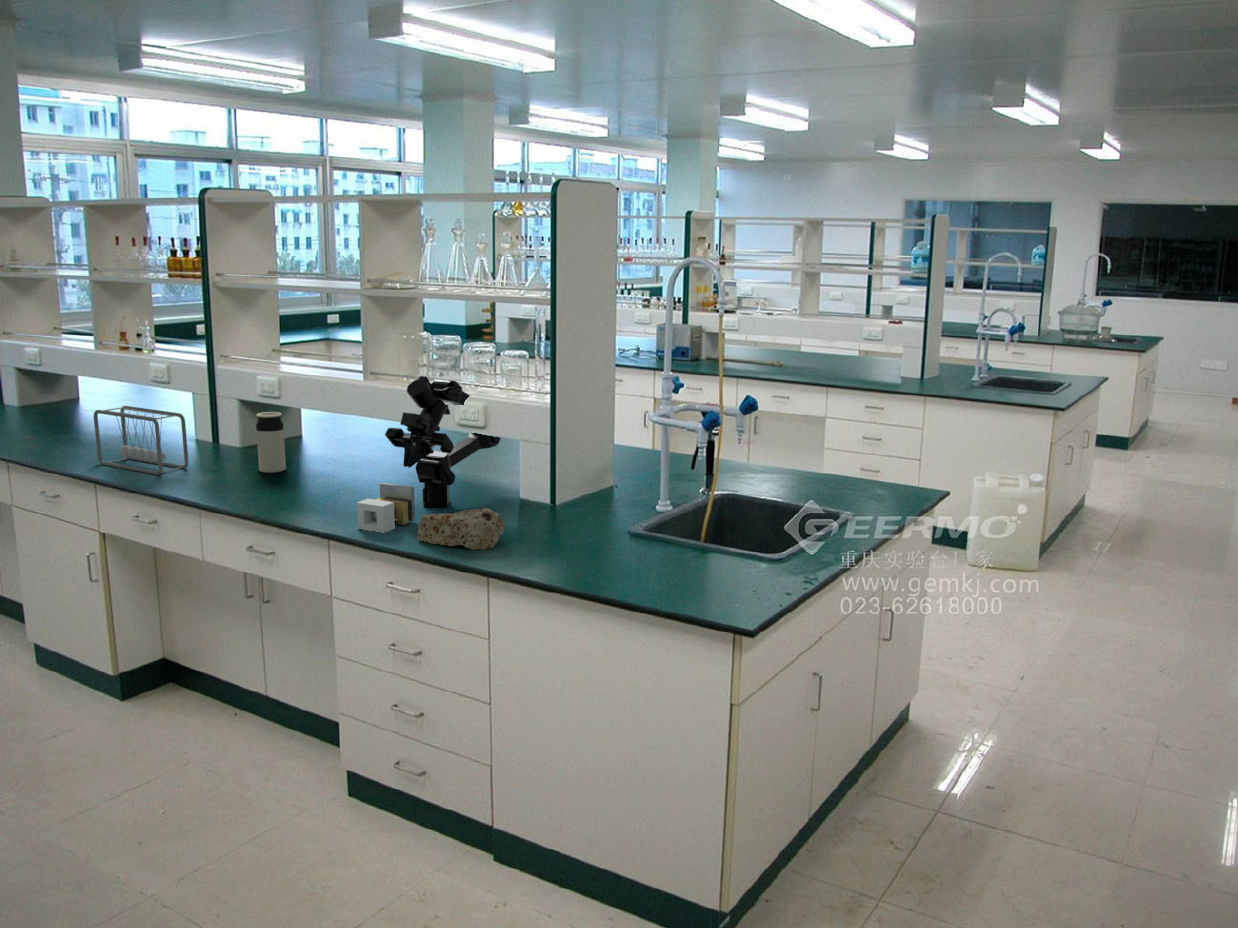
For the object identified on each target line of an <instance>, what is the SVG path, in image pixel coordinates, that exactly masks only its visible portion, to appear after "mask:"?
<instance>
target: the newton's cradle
mask: <svg viewBox="0 0 1238 928" xmlns="http://www.w3.org/2000/svg"><path fill="white" fill-rule="evenodd" d="M114 410H120V411H114ZM127 411H128V412H127ZM131 412H134V413H131ZM135 412H136V414H135ZM140 413H142V414H140ZM143 413H144V415H143ZM99 414H101V415H107V416H115V417H116V419H117V420H116V421H117V424H118V428H119V430H120V434H121V438H122V442H123V445H122V446H121V447H120V449H119V454H120V455H121V456H122V457H124V458H121V459H115V460H111V461H104V460H103V457H102V448H101V447H102V446H101V438H100V436H101V435H100V427H99V418H98V415H99ZM149 414H151V415H150V416H147V415H149ZM156 416H161V417H156ZM118 417H120V422H119V419H118ZM173 417H178V418H179V419H180V422H181V432H182V433H181V437H182V448H183V457H184V459H183V460H184V463H183V464H184V465H182V464H178V463H173V462H172V463H170V462H165V461H166V458H167V456H166V453H165V452H164V451H162V446H161V445H162V443H161V439H162V431H160V426H162V423H163V422H162V421H163V419H168V418H173ZM126 418H128V422H127V419H126ZM130 419H132V423H133V427H134V430H135V433H134V440H136V437H137V440H138V446H139V447H137V446H136V444H134V445H133V443H132V439H131V435H130V431H129V423H130ZM134 420H136V422H135V421H134ZM138 420H140V423H141V426H142V430H143V435H142V442H144V440H145V441H146V446H147V448H144V446H142V445H141V444H140V443H141V442H140V439H139V436H138V433H137V432H138V431H137V424H138ZM158 420H160V425H159V422H158ZM142 421H143V422H142ZM146 421H147V422H148V423H149V426H150V430H151V435H152V436H151V440H150V445H152V443H153V442H152V441H153V440H154V444H155V446H156V447H155V448H156V450H154V449H152V448H149V444H148V440H147V438H146V436H147V435H146V433H145V429H146V427H145V426H146ZM151 422H152V426H151ZM120 423H121V426H120ZM93 424H94V433H95V442H96V444H95V445H96V455H97V459H98V463H100V464H101V465H103V466H107V467H112V468H118V469H123V470H129V471H134V472H139V473H143V474H144V473H145V474H151V475H155V476H160V475H161V474H162V473H167V472H171V471H172V472H173V471H175V470H180V469H182V470H186V469H187V468H188V466H189V454H188V453H189V451H188V441H187V440H188V439H187V428H186V427H187V426H186V419H185V416H184V415H183V414H182V413H180V412H173V411H166V410H159V409H152V408H144V407H137V406H132V405H131V406H130V405H123V406H121V407H115V408H110V409H96V410H94V412H93ZM153 429H154V431H155V433H154V432H153ZM154 434H155V435H154ZM128 437H129V439H130V444H131V446H130V445H128ZM125 460H131V461H135V460H137V461H136V462H141V461H143V462H142V463H146V462H148V463H147V464H152V463H153V465H158V470H153V469H147V468H141V467H136V466H130V465H125V464H119V463H114V462H120V461H125ZM165 466H166V467H169V468H171V469H168V470H167V469H166V470H163V468H164V467H165ZM174 467H175V468H174Z"/></svg>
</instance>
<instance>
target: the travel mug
mask: <svg viewBox="0 0 1238 928" xmlns="http://www.w3.org/2000/svg"><path fill="white" fill-rule="evenodd" d="M256 417H257V422H256V424H255V427H256V428H255V429H256V446H257V447H256V448H257V457H258V458H257V460H258V471H259V472H261V473H263V474H276V473H281V472H283V471H285V470H286V469H287V466H286V450H285V449H286V448H285V431H284V422H283V421H282V412H279V411H265V412H258V413H256Z"/></svg>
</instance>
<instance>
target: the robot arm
mask: <svg viewBox="0 0 1238 928" xmlns="http://www.w3.org/2000/svg"><path fill="white" fill-rule="evenodd" d="M406 393H407V394H408V395H409V397H410V398H411V399H412V401H413V402H414V403H415V405H416V406H417V407H419V408H421V409H422V410H421V411H420V413H418V414H417V413H411V412H410V413H409V412H402V415H401V420H400V425H401V426H405V427H407V428H406V430H407V432H404V430H403V429H402V428H400V427H399V428H398V427H388V428H387V429H386V431H385V433H384V436H385V437H386V438H387V439H388V441H389V442H390V443H391V445H392V446H393V447H395V448H401V449H403V448H404V451H403V453H404V455H403V464H402V465H403V466H404V467H405V468H407V467H408V468H409V469H410V468H411V467H413V466H415V471H416V472H415V473H416V475H417V479H418V482H419V484H421V483H422V484H424V487H423V488H422V504H423V507H425V508H427V507H428V508H448V506H449V505H450V504H451V503H452V499H450V486H452V485H453V484H454V483H455V479H456V474H455V473H454V472H453V471H452V467H454V466H455V465H457V464H459V463H460V462H462V461H464V460H465V459H466V458H468V457H470V456H471V455H473V454H474V453H476V452H478V451H479V450H484V449H491V448H493V447H497V446H498V445H499V444H500V441H501V439H502V437H501V438H499V437H493V436H487V435H482V434H477V433H471V432H469V431H468V436H467V437H466V438H464V439H462V440H460V441H458V442H457V443H455V444H454V443H453V441H452V440H451V438H450V437H449V436H448V434H447V433H443V432H440V430H441V427H440V426H439V425H440V423H441V422H442V419H443V417H444V415H445V416H446V415H448V416H450V414H451V410H450V409H449V405H448V404H445V403H449V404H452V405H454V406H456V405H464V402H465V400H466V399H467V398H468V397H469V396H471V395H470V394H468V393H467V392H465V391H463V386H462V385H460V383H458V381H456V380H452V379H443V378H435V379H434V380H433V381H432V382H430V380H429V378H428V377H427V376H423V375H420V376H419V378H417V379H415V380H413V381H412V382H411V383H409V384H408V386H407V387H406ZM409 432H410V433H409ZM436 446H439V447H440V451H437V450H436V451H435V450H434V449H435V447H436Z"/></svg>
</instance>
